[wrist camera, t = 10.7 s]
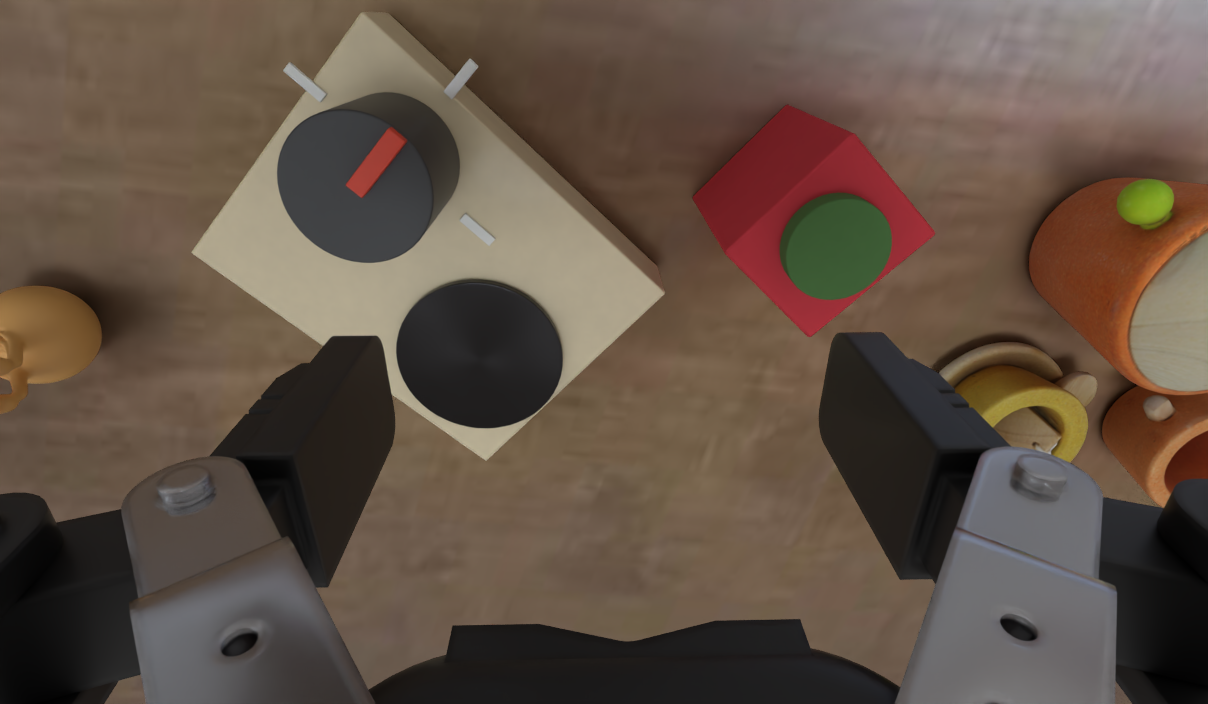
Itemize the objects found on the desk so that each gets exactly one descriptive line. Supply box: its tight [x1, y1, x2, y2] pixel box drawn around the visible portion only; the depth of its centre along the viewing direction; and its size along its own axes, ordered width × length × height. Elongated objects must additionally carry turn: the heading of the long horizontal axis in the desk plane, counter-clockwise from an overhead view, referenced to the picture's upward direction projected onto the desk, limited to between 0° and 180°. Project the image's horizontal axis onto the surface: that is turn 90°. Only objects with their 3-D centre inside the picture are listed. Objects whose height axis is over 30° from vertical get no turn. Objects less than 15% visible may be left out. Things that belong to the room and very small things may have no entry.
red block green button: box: [693, 105, 935, 337], centre depth 23 cm, size 4×5×8 cm
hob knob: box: [277, 92, 460, 263], centre depth 20 cm, size 4×4×5 cm
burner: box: [396, 279, 563, 428], centre depth 26 cm, size 7×7×1 cm
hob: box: [192, 12, 665, 460], centre depth 25 cm, size 15×12×3 cm
